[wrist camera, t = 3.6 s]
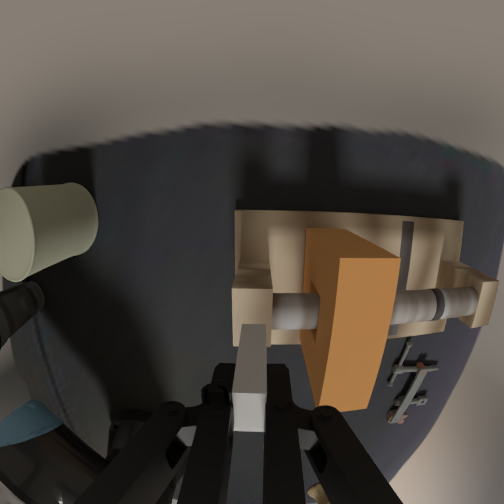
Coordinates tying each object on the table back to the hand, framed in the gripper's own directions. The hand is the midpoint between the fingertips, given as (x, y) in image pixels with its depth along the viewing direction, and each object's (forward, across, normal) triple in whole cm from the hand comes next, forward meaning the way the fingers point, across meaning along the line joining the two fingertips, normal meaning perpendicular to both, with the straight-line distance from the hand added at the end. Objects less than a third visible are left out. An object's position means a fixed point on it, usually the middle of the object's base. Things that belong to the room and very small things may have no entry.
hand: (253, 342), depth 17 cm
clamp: (+14, +23, -17) cm, 32 cm away
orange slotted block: (+11, +7, 0) cm, 13 cm away
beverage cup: (+13, -33, -4) cm, 36 cm away
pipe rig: (+13, +12, 0) cm, 18 cm away
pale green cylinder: (+13, -23, +7) cm, 28 cm away
